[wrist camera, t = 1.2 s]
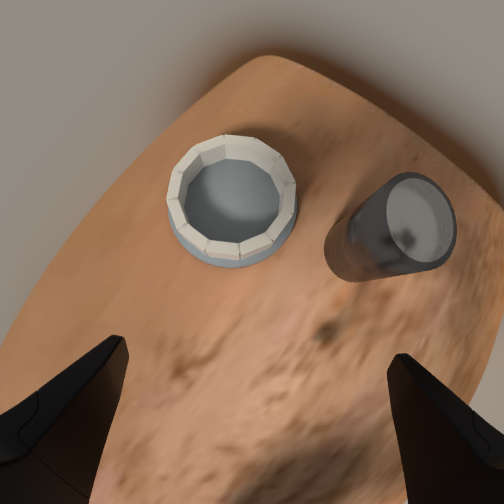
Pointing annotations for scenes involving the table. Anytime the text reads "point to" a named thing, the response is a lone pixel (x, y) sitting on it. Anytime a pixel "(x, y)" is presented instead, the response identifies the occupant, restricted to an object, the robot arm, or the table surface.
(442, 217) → the lens
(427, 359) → the table surface
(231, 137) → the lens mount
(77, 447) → the robot arm
